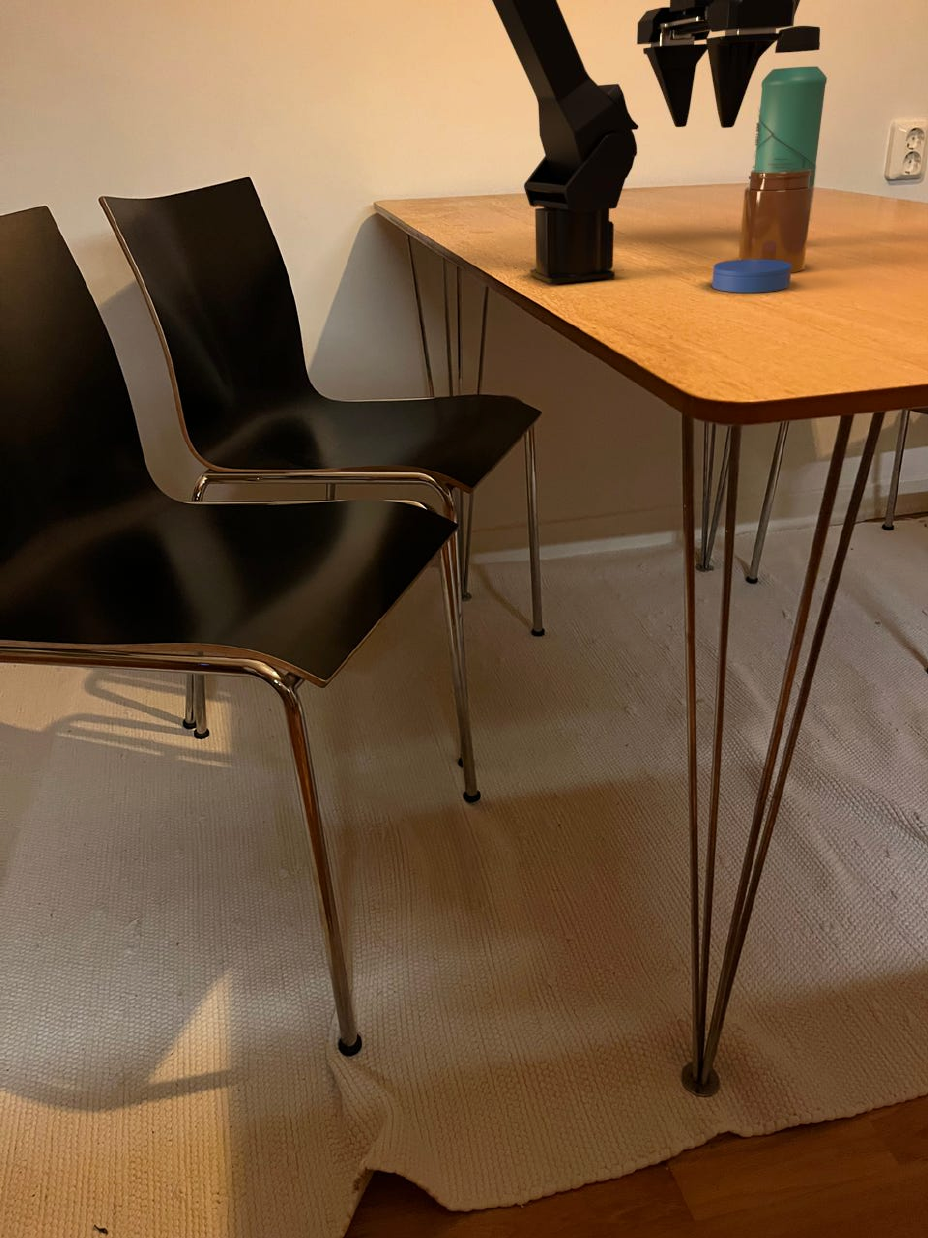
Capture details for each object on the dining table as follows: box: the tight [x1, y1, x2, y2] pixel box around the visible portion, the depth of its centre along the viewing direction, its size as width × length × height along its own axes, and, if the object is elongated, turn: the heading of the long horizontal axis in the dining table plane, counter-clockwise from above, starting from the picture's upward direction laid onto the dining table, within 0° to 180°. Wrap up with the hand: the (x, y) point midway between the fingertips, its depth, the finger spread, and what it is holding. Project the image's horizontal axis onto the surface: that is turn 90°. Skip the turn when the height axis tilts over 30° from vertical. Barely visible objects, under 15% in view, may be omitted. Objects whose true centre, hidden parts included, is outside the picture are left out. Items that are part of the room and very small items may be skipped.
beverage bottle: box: [752, 25, 828, 224], centre depth 94 cm, size 6×7×20 cm
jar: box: [737, 168, 815, 274], centre depth 85 cm, size 6×6×8 cm
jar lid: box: [711, 259, 792, 294], centre depth 80 cm, size 6×6×2 cm
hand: (703, 127), depth 87 cm, fingers open, 9 cm apart
